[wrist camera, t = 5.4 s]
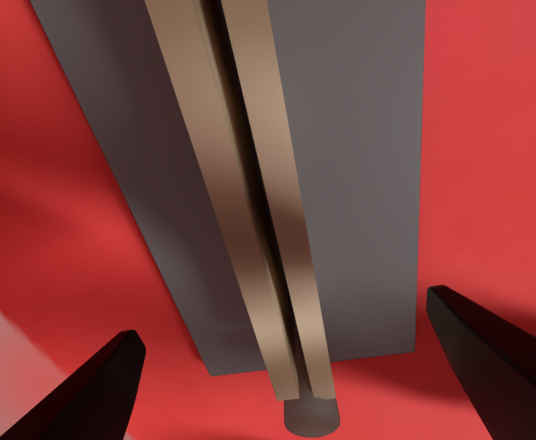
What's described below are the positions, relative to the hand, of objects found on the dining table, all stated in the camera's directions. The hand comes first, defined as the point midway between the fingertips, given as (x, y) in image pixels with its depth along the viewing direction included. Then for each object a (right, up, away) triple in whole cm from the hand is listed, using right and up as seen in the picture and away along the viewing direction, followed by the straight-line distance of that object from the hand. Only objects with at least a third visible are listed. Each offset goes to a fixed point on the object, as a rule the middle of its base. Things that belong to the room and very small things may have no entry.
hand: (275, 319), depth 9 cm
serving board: (0, +4, +5) cm, 7 cm away
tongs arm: (-1, +4, +4) cm, 6 cm away
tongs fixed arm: (0, +3, +5) cm, 6 cm away
